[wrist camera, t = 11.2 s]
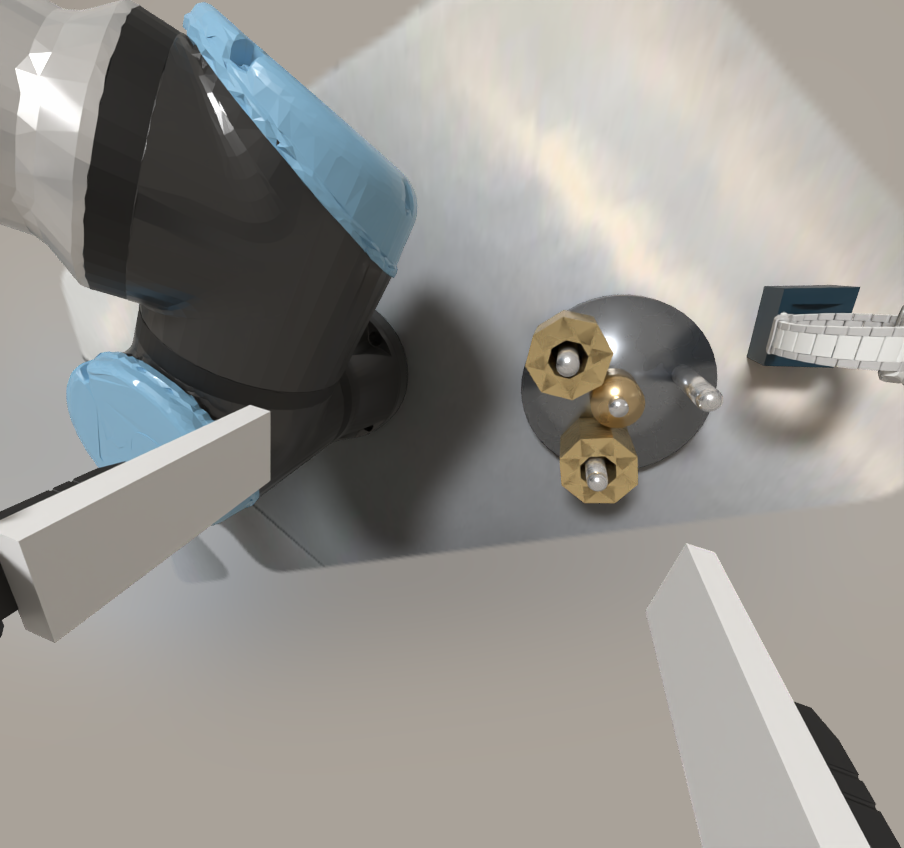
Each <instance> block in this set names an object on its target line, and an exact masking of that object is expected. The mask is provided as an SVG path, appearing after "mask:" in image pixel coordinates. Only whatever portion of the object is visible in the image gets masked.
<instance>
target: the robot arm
mask: <svg viewBox="0 0 904 848" xmlns="http://www.w3.org/2000/svg"><path fill="white" fill-rule="evenodd" d="M183 27H184V28H185V29H186V30H187V35H185V34H184V33H181V32H179V31H178V30H176V29H175V28H173V27H172V26H170V25H169V24H167V23H166V22H164V21H163V20H161V19H159V18H158V17H156V16H155V15H153V14H152V13H150V12H149V11H147V10H146V9H144V8H143V7H141V6H140V5H138V4H137V3H135V2H133V1H131V0H121V1H117V2H113V3H109V4H105V5H101V6H97V7H93V8H89V9H86V10H70V9H62V8H61V7H59V6H58V5H56V4H54V3H53V2H51V1H49V0H0V224H1V225H4V226H7V227H10V228H13V229H16V230H19V231H22V232H25V233H28V234H31V235H34V236H36V237H37V238H38V239H40V240H41V241H42V242H44V243H45V244H46V245H48V247H49V248H50V249H51V250H52V251H53V253H54V254H55V255H56V256H57V257H58V259H59V260H60V261H61V262H62V263H63V265H64V266H65V267H66V268H67V269H68V271H69V272H70V273H71V274H72V275H73V277H74V278H75V279H76V280H77V281H78V283H79V284H80V285H82V286H84V287H87V288H90V289H92V290H97V291H100V292H104V293H107V294H110V295H114V296H117V297H121V298H124V299H128V300H129V301H133V302H137V303H139V312H138V317H137V323H136V327H135V333H134V338H133V343H132V345H131V347H130V348H129V349H128V350H127V351H125V352H104V353H100V354H99V355H98V356H97V357H95V359H94V360H91V361H88V362H85V363H82V364H81V365H79V366H78V367H77V368H76V369H75V370H74V371H73V372H72V374H71V375H70V378H69V381H68V384H67V393H66V394H67V396H66V397H67V406H68V410H69V414H70V418H71V421H72V423H73V425H74V428H75V430H76V433H77V435H78V437H79V439H80V440H81V442H82V444H83V446H84V447H85V449H86V451H87V452H88V454H89V455H90V457H91V458H92V459H93V460H94V462H95V463H96V465H97V466H98V467H99V468H97V469H95V470H92V471H90V472H88V473H86V474H84V475H81V476H79V477H77V478H75V479H74V480H73V481H72V482H70V481H68V482H66V483H63V484H61V485H59V486H57V487H54V488H53V490H52V491H49V490H48V491H46V492H43V493H41V494H39V495H36V496H34V497H32V498H30V499H28V500H25V501H23V502H21V503H18V504H16V505H14V506H12V507H10V508H7V509H5V510H3V511H1V512H0V637H1V636H2V632H3V628H4V624H3V622H2V620H3V619H4V618H6V617H7V616H9V615H10V614H12V613H13V612H15V611H17V610H18V612H19V614H20V617H21V619H22V622H23V624H24V627H25V629H26V630H28V631H30V632H32V633H34V634H37V635H39V636H41V637H43V638H45V639H48V640H50V641H52V642H54V643H55V642H57V641H58V640H59V639H61V638H62V637H63V636H65V635H66V634H67V633H69V632H70V631H71V630H73V629H74V628H75V627H77V626H78V625H79V624H81V623H82V622H83V621H85V620H86V619H87V618H88V617H90V616H91V615H93V614H94V613H95V612H97V611H98V610H99V609H101V608H102V607H103V606H105V605H106V604H107V603H108V602H110V601H111V600H112V599H114V598H115V597H116V596H118V595H119V594H121V593H122V592H123V591H125V590H126V589H127V588H128V587H129V586H131V585H132V584H134V583H135V582H136V581H138V580H139V579H140V578H142V577H143V576H144V575H146V574H147V573H148V572H150V571H151V570H152V569H154V568H155V567H156V566H157V565H159V564H160V563H162V562H163V561H164V560H166V559H167V558H168V557H170V556H171V555H172V554H174V553H175V552H176V551H178V550H179V549H180V548H182V547H183V546H184V545H186V544H187V543H188V542H190V541H191V540H192V539H194V538H195V537H196V536H198V535H199V534H200V533H201V532H203V531H204V530H206V529H207V528H208V527H209V526H212V525H215V524H218V523H220V522H222V521H224V520H226V519H227V518H229V517H231V516H232V515H234V514H236V513H237V512H239V511H241V510H242V509H244V508H248V507H250V506H252V505H253V504H255V502H256V500H258V499H259V497H260V496H262V495H263V494H264V493H266V492H267V491H268V490H270V489H271V488H272V487H274V486H275V485H276V484H278V483H279V482H280V481H281V480H283V479H284V478H285V477H287V476H288V475H289V474H291V473H292V472H293V471H295V470H296V469H297V468H299V467H300V466H301V465H303V464H304V463H305V462H307V461H308V460H309V459H311V458H312V457H313V456H314V455H316V454H317V453H318V452H320V451H321V450H322V449H324V448H325V447H326V446H328V445H329V444H330V443H332V442H334V441H340V440H346V439H351V438H357V437H361V436H364V435H367V434H369V433H371V432H373V431H375V430H376V429H378V428H379V427H381V426H382V425H383V424H384V423H385V422H387V421H388V420H389V419H390V418H391V417H392V416H393V415H394V414H395V412H396V411H397V410H398V408H399V407H400V405H401V403H402V401H403V398H404V395H405V392H406V387H407V375H408V374H407V363H406V358H405V354H404V351H403V348H402V345H401V343H400V341H399V339H398V337H397V335H396V333H395V332H394V330H393V328H392V327H391V326H390V324H389V323H388V322H387V321H386V320H385V318H384V317H383V316H382V315H381V314H379V313H378V312H377V311H376V310H375V309H376V307H377V305H378V303H379V301H380V299H381V297H382V295H383V293H384V291H385V289H386V287H387V285H388V283H389V281H390V279H391V277H393V278H394V277H395V275H396V274H397V270H398V269H397V263H398V261H399V258H400V256H401V253H402V251H403V248H404V246H405V244H406V242H407V239H408V237H409V235H410V232H411V230H412V228H413V226H414V223H415V220H416V216H417V199H416V195H415V192H414V189H413V187H412V185H411V183H410V181H409V180H408V178H407V177H406V176H405V175H404V174H403V173H402V172H401V171H400V170H399V169H398V168H397V167H396V166H394V165H393V164H392V163H391V162H390V161H389V160H388V159H387V158H385V157H384V156H383V155H382V154H381V153H380V152H379V151H378V150H377V149H375V148H374V147H373V146H372V145H371V144H370V143H369V142H367V141H366V140H365V139H364V138H363V137H362V136H361V135H360V134H358V133H357V132H356V131H355V130H354V129H353V128H352V127H350V126H349V125H348V124H347V123H346V122H345V121H344V120H342V119H341V118H340V117H339V116H338V115H337V114H336V113H335V112H333V111H332V110H331V109H330V108H329V107H328V106H327V105H325V104H324V103H323V102H322V101H321V100H320V99H318V98H317V97H316V96H315V95H314V94H313V93H312V92H310V91H309V90H308V89H307V88H306V87H305V86H304V85H302V84H301V83H300V82H299V81H298V80H297V79H296V78H294V77H293V76H292V75H291V74H290V73H289V72H287V71H286V70H285V69H284V68H283V67H282V66H280V65H279V64H278V63H277V62H276V61H275V60H273V59H272V58H271V57H270V56H269V55H267V53H266V52H264V51H263V50H262V49H261V48H260V47H259V46H257V45H256V44H255V43H254V42H253V41H251V40H250V39H249V38H248V37H247V36H246V35H245V34H244V33H242V32H241V31H240V30H239V29H238V28H237V27H236V26H235V25H234V24H232V23H231V22H230V21H229V20H228V19H227V18H226V17H225V16H223V15H222V14H221V13H220V12H219V11H217V9H215V8H214V7H213V6H212V5H210V4H208V3H205V2H202V3H198V4H196V5H195V6H194V8H193V9H192V11H191V12H190V13H187V14H185V16H184V21H183ZM646 615H647V619H648V623H649V627H650V632H651V636H652V640H653V644H654V648H655V652H656V657H657V661H658V665H659V669H660V673H661V677H662V681H663V686H664V690H665V694H666V698H667V702H668V707H669V710H670V715H671V719H672V723H673V727H674V732H675V735H676V740H677V744H678V748H679V752H680V757H681V760H682V765H683V769H684V773H685V777H686V781H687V786H688V790H689V794H690V798H691V802H692V807H693V811H694V815H695V819H696V823H697V827H698V832H699V836H700V840H701V844H702V848H901V847H900V845H899V843H898V841H897V840H896V838H895V836H894V834H893V833H892V831H891V829H890V828H889V826H888V824H887V822H886V821H885V819H884V817H883V815H882V814H881V812H880V811H877V810H876V808H875V802H874V800H873V798H872V797H871V795H870V793H869V791H868V790H867V788H866V786H865V784H864V783H863V782H862V781H860V780H859V779H858V775H859V774H858V772H857V771H856V769H855V767H854V765H853V764H852V762H851V760H850V759H849V757H848V755H847V754H846V752H845V750H844V748H843V746H842V745H841V743H840V741H839V740H838V739H837V737H836V736H835V735H834V734H833V733H832V732H831V730H830V729H829V728H828V727H827V726H826V724H825V723H824V722H823V721H822V720H821V719H820V717H819V716H818V715H817V714H816V713H815V712H814V710H813V709H812V708H810V707H807V706H805V705H802V704H799V703H796V702H794V701H793V700H792V698H791V696H790V694H789V692H788V690H787V688H786V686H785V684H784V682H783V681H782V679H781V677H780V675H779V673H778V671H777V669H776V667H775V666H774V664H773V662H772V660H771V658H770V656H769V654H768V652H767V650H766V648H765V646H764V644H763V643H762V641H761V639H760V637H759V635H758V633H757V631H756V629H755V628H754V626H753V624H752V622H751V620H750V618H749V616H748V614H747V612H746V610H745V608H744V607H743V605H742V603H741V601H740V599H739V597H738V595H737V593H736V591H735V590H734V588H733V586H732V584H731V582H730V580H729V578H728V576H727V574H726V572H725V570H724V569H723V567H722V565H721V563H720V561H719V559H718V557H717V555H716V553H715V552H712V551H709V550H706V549H703V548H700V547H696V546H693V545H690V544H687V543H686V544H685V546H684V548H683V549H682V551H681V553H680V554H679V556H678V558H677V559H676V561H675V563H674V564H673V566H672V568H671V569H670V571H669V573H668V574H667V576H666V578H665V579H664V581H663V583H662V584H661V586H660V588H659V589H658V591H657V593H656V594H655V596H654V598H653V599H652V601H651V603H650V604H649V606H648V608H647V609H646Z"/></svg>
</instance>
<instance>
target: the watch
mask: <svg viewBox="0 0 904 848" xmlns="http://www.w3.org/2000/svg"><path fill="white" fill-rule="evenodd" d="M859 289H860V287H851V286H837V285H813V286H764V290H763V294H762V298H761V302H760V306H759V310H758V314H757V318H756V322H755V326H754V330H753V334H752V338H751V342H750V346H749V350H748V354H747V357H748V358H750V359H752V360H754V361H756V362H758V363H759V364H761V365H763V366H794V367H829V368H833V367H835V365H836V362H837V359H838V362H837V365H836V367H841V368H850V369H863V370H876V371H878V376H879V379H880V380H882V381H884V382H891V383H902V384H903V385H904V306H903V307H902V308H901V310H900V313H899V315H887V314H874V315H873V314H854V313H852V310H853V307H854V304H855V301H856V298H857V295H858V292H859ZM853 315H854V317H853ZM852 318H853V320H852ZM863 323H864V324H863ZM862 325H863V327H862ZM857 348H858V349H857ZM856 351H857V352H856ZM855 354H856V355H855Z"/></svg>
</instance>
